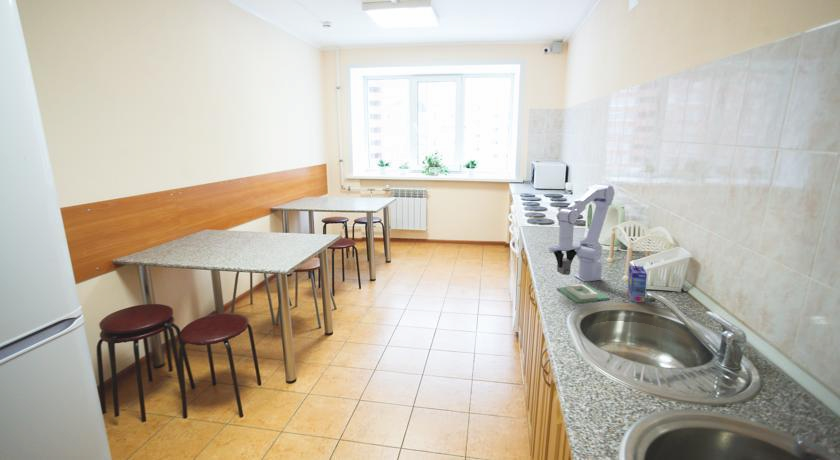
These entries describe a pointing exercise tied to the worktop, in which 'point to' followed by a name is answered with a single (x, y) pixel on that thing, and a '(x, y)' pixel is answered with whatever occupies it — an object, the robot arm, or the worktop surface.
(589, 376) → the worktop surface
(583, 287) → the header board
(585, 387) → the worktop surface
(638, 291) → the ink cartridge box
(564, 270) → the plug
